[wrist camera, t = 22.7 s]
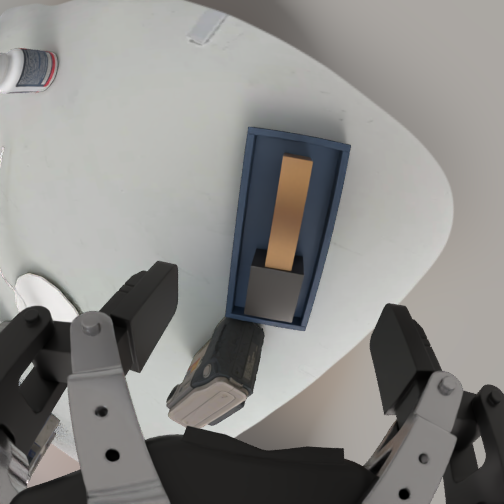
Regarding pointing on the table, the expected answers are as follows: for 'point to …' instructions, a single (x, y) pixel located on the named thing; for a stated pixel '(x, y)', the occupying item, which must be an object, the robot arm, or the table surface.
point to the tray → (262, 210)
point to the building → (42, 443)
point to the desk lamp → (41, 294)
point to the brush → (281, 247)
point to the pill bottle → (26, 70)
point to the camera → (218, 375)
